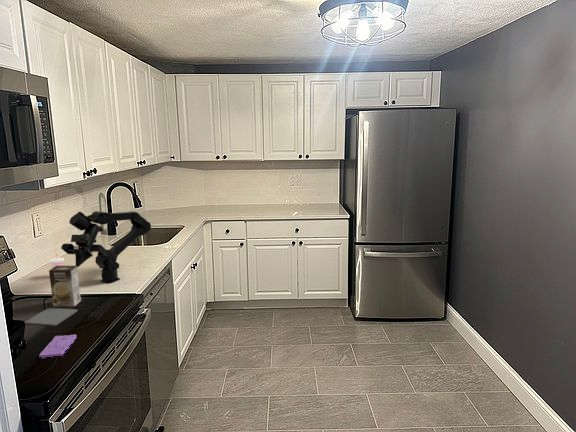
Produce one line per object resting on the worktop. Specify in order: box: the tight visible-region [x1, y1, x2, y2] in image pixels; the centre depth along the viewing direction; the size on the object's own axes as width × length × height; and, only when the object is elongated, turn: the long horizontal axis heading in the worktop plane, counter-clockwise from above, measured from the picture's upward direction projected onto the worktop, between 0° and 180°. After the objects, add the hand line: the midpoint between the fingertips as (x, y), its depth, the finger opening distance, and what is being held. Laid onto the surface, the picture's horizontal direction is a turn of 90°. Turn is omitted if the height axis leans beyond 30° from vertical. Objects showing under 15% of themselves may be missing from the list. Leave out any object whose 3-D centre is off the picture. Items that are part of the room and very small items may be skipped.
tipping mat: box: [24, 307, 78, 327], centre depth 163 cm, size 13×13×1 cm
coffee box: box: [48, 265, 82, 308], centre depth 174 cm, size 9×6×16 cm
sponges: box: [38, 334, 77, 359], centre depth 140 cm, size 7×13×2 cm, turn 7°
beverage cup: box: [50, 249, 65, 269], centre depth 207 cm, size 6×6×14 cm
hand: (76, 266), depth 181 cm, fingers closed
